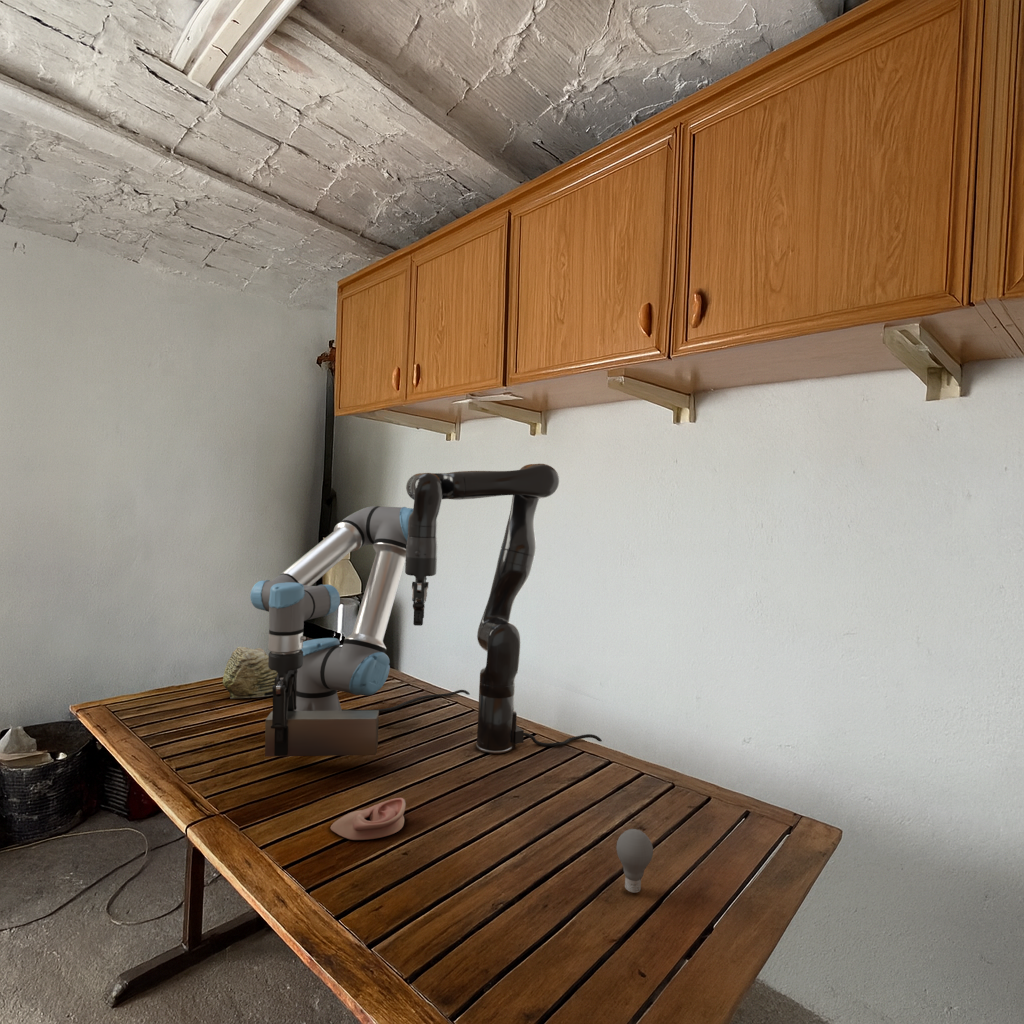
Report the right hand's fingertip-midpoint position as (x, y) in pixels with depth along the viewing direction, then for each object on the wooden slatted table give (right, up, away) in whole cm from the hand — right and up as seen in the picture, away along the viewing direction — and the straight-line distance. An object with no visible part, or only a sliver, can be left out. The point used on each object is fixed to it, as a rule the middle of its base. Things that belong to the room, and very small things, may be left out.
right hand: (418, 621), depth 154 cm
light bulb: (+43, -37, -48) cm, 74 cm away
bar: (-22, -29, -6) cm, 37 cm away
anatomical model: (-5, -34, -31) cm, 47 cm away
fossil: (-58, -31, +44) cm, 79 cm away
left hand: (-30, -28, -7) cm, 42 cm away
